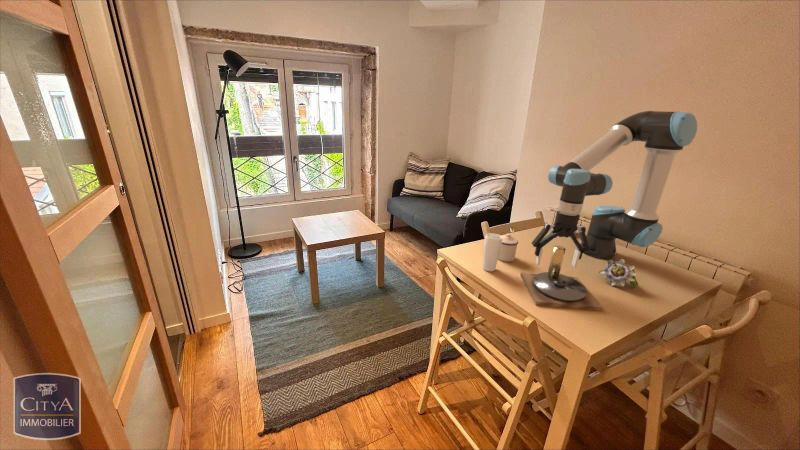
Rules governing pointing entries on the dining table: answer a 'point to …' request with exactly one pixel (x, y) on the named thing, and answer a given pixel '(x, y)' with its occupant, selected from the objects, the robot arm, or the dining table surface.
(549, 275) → the handwheel
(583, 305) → the base plate
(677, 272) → the dining table surface
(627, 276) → the passion flower
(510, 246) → the teacup with lid
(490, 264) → the drinking glass
